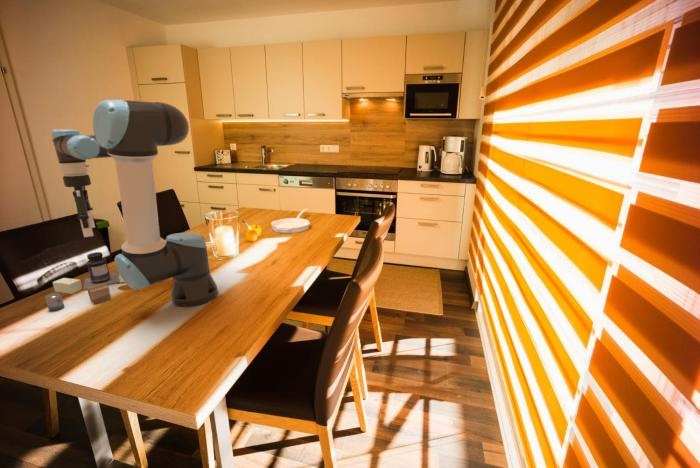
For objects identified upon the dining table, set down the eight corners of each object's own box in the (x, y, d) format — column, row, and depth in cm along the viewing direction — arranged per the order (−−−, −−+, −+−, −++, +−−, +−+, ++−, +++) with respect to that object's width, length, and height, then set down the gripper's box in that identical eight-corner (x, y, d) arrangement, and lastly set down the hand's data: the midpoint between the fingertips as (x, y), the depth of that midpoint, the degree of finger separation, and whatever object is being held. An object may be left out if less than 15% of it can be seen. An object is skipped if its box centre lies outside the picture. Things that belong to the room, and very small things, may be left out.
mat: (119, 283, 130) (118, 281, 130) (83, 290, 124) (83, 289, 124) (118, 273, 139) (118, 272, 139) (85, 280, 133) (85, 278, 133)
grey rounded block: (63, 309, 111) (60, 296, 110) (48, 313, 109) (43, 299, 108) (65, 304, 114) (61, 291, 113) (50, 308, 112) (45, 294, 111)
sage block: (83, 289, 126) (80, 279, 124) (72, 294, 122) (69, 284, 121) (66, 287, 127) (63, 277, 126) (55, 292, 124) (52, 282, 123)
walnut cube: (111, 299, 118) (108, 287, 116) (94, 305, 114) (91, 292, 112) (107, 295, 121) (103, 282, 119) (90, 300, 117) (86, 287, 116)
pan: (262, 233, 192) (261, 224, 191) (289, 215, 232) (289, 207, 231) (303, 236, 188) (302, 226, 186) (323, 217, 228) (323, 209, 226)
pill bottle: (93, 279, 132) (86, 253, 129) (111, 275, 135) (105, 250, 132) (90, 285, 127) (83, 258, 124) (109, 281, 130) (103, 255, 127)
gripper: (86, 177, 111) (101, 238, 118) (90, 170, 131) (102, 223, 137) (57, 179, 107) (74, 242, 114) (66, 172, 127) (79, 225, 133)
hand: (89, 231), depth 125 cm, fingers open, 13 cm apart
